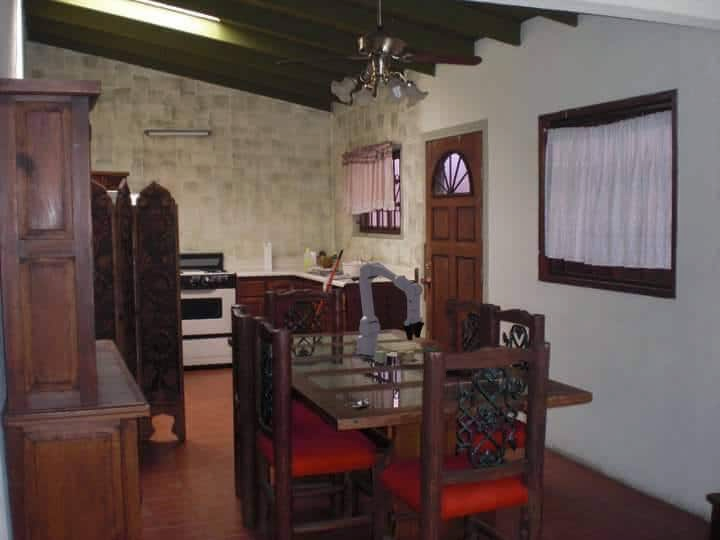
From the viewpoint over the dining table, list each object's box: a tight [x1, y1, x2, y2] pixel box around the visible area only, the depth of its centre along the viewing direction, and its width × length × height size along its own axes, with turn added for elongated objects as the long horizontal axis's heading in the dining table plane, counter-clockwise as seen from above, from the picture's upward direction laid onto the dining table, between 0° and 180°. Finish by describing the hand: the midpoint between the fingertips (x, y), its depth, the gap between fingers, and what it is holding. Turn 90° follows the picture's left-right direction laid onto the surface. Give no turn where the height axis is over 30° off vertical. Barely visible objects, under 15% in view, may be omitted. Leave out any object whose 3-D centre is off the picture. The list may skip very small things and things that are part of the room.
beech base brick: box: [396, 349, 415, 362], centre depth 363 cm, size 6×6×4 cm
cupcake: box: [419, 331, 439, 352], centre depth 374 cm, size 9×8×12 cm
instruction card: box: [387, 351, 398, 358], centre depth 375 cm, size 12×9×1 cm
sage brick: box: [374, 349, 388, 364], centre depth 357 cm, size 4×4×5 cm
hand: (413, 338), depth 360 cm, fingers open, 7 cm apart
